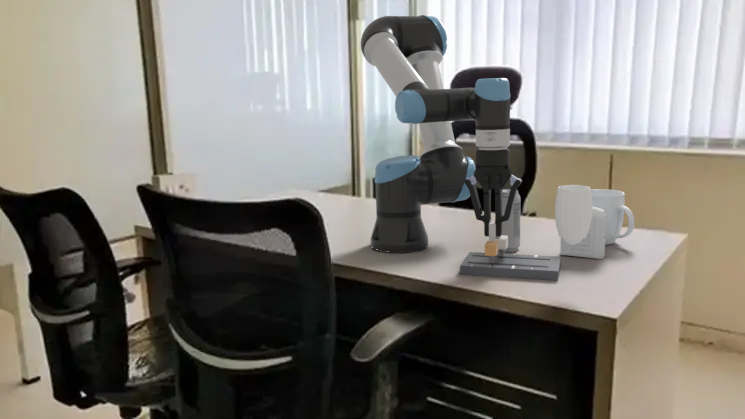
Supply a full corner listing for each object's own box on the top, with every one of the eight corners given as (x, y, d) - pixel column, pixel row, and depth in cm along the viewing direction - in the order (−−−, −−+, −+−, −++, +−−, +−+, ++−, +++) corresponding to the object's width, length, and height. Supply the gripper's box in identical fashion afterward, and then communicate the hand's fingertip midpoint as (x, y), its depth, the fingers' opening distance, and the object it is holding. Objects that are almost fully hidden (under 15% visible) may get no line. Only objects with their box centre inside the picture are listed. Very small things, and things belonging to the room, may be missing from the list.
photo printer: (606, 255, 156) (607, 205, 153) (603, 260, 152) (604, 208, 150) (562, 251, 161) (563, 202, 158) (558, 256, 157) (559, 205, 155)
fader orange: (484, 263, 144) (484, 244, 143) (487, 259, 147) (487, 241, 147) (495, 264, 143) (495, 245, 142) (498, 260, 147) (498, 241, 146)
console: (460, 274, 145) (459, 265, 145) (469, 259, 156) (469, 251, 156) (557, 280, 138) (558, 270, 138) (560, 264, 150) (561, 255, 149)
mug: (645, 245, 164) (647, 194, 161) (617, 252, 158) (620, 199, 156) (596, 235, 176) (597, 187, 174) (568, 241, 170) (570, 192, 168)
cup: (563, 294, 130) (565, 191, 126) (547, 283, 137) (548, 185, 133) (596, 290, 131) (600, 188, 127) (579, 280, 138) (581, 183, 134)
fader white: (495, 257, 149) (495, 238, 148) (497, 253, 152) (497, 235, 152) (506, 257, 148) (506, 239, 148) (508, 253, 152) (508, 235, 151)
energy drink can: (499, 245, 169) (500, 188, 166) (522, 247, 166) (523, 189, 163) (492, 250, 164) (492, 192, 161) (516, 253, 161) (516, 193, 158)
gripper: (460, 149, 145) (461, 252, 149) (520, 149, 141) (519, 255, 145) (467, 146, 152) (468, 245, 156) (524, 146, 148) (523, 247, 152)
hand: (493, 250), depth 150 cm, fingers closed
